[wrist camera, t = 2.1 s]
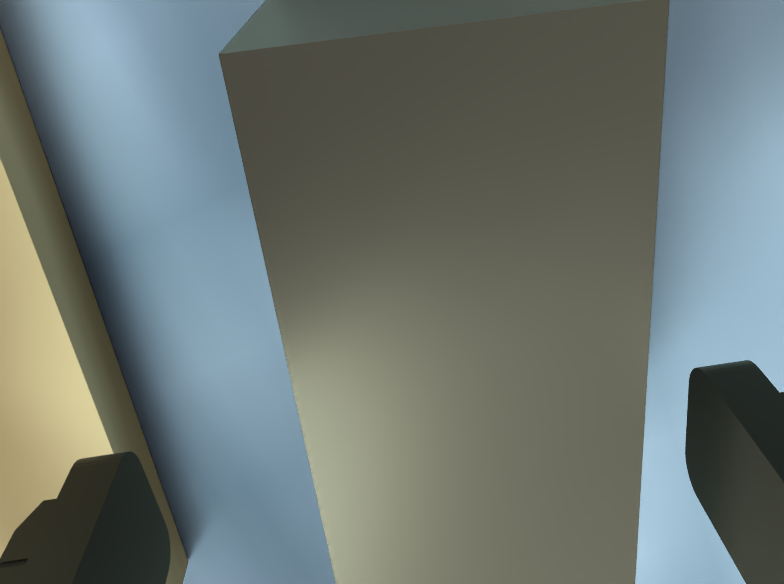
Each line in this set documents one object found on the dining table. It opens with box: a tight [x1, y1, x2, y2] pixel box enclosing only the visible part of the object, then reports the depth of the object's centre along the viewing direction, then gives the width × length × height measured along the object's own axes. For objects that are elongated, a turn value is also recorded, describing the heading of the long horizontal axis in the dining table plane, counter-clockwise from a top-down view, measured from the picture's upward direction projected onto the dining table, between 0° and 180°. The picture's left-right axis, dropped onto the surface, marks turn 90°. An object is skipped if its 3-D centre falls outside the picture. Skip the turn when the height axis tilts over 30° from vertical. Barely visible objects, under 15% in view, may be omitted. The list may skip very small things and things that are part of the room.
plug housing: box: [219, 0, 669, 584], centre depth 13 cm, size 5×11×5 cm, turn 7°
